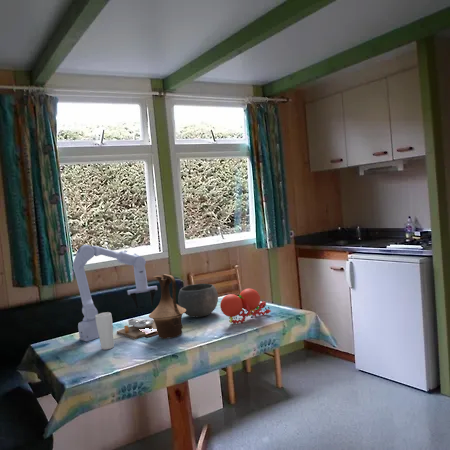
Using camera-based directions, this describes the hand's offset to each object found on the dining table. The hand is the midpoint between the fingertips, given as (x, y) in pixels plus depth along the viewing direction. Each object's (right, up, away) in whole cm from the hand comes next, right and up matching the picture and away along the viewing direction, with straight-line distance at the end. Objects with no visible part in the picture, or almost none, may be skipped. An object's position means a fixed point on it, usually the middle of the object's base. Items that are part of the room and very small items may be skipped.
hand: (144, 306), depth 229 cm
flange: (-1, -8, -6) cm, 10 cm away
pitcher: (+15, -9, -21) cm, 27 cm away
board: (+1, -10, -8) cm, 13 cm away
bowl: (+27, -6, +6) cm, 28 cm away
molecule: (+50, -5, -12) cm, 52 cm away
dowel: (-6, -10, -12) cm, 17 cm away
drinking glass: (-11, -13, -28) cm, 33 cm away
